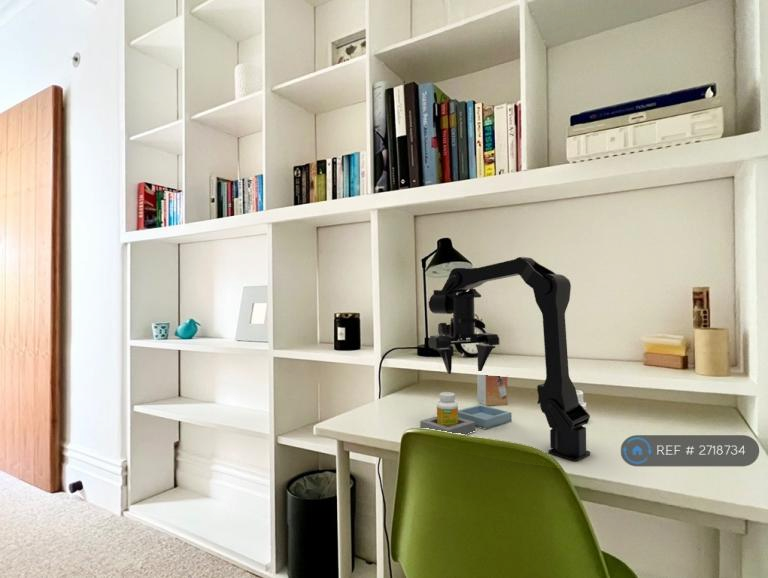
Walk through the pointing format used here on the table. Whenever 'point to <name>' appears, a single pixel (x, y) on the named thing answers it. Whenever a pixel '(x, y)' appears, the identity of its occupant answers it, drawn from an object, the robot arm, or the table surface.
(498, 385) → the small box
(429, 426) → the holder
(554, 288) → the robot arm
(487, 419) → the tray
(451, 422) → the supplement bottle
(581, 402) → the pipe fitting
